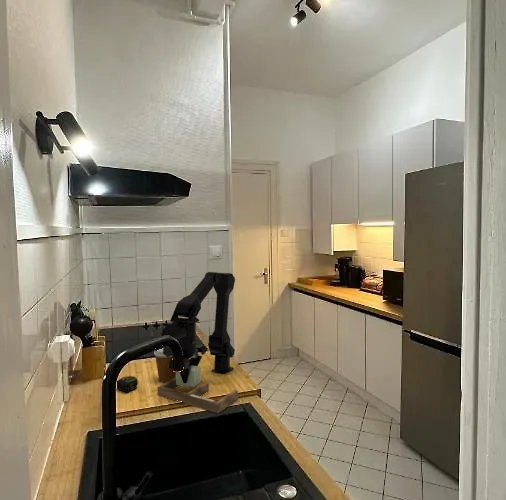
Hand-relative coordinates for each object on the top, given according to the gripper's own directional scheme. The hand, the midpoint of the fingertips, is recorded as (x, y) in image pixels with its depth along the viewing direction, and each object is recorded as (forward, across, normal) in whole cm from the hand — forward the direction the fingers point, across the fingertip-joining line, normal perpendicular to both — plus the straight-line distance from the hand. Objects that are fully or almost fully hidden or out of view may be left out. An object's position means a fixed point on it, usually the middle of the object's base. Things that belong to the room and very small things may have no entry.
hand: (188, 380), depth 132 cm
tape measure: (+4, +5, -22) cm, 23 cm away
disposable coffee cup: (+4, -8, -12) cm, 15 cm away
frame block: (+1, 0, 0) cm, 1 cm away
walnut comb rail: (+4, +3, +5) cm, 7 cm away
